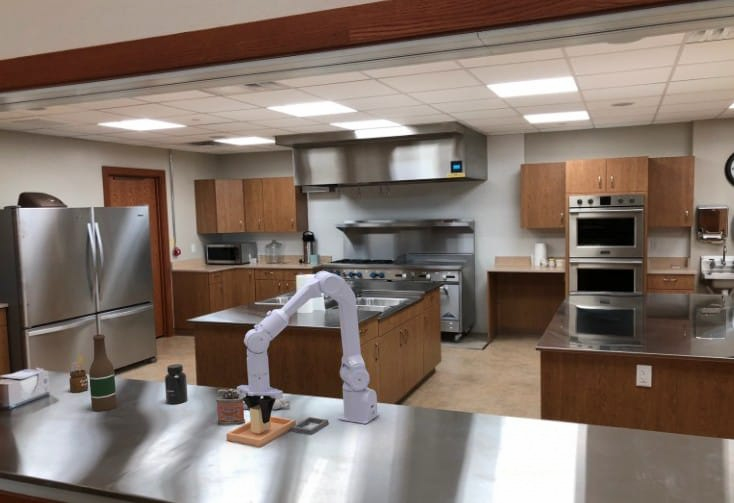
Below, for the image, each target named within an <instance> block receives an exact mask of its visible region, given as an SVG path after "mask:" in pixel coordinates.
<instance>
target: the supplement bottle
mask: <svg viewBox="0 0 734 503" xmlns="http://www.w3.org/2000/svg"><path fill="white" fill-rule="evenodd" d="M183 366H184V365H183V364H181V363H174V364H170V365H168V366H166V367H167V370H166V371H167V374H165V376H164V387H165V401H166V402H165V403H167V404H168V405H178V404H179V405H180V404H183V403H186V401H188V384H187V382H188V380H187V374H186V373H185V372H183V371H184V368H183Z"/></svg>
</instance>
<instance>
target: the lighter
mask: <svg viewBox="0 0 734 503" xmlns="http://www.w3.org/2000/svg"><path fill="white" fill-rule="evenodd" d="M217 393H218V394H217V395H218V397H216V399H215V402H216V406H217V407H216V408H217V425H220V426H235V425H236V426H238V425H240V426H241V425H244V424H246V418H245V412H244V410H245V409H243V402H244V401H243V398H244V396H239V395H240V394H237V389H235V390H234V389H233V388H229V389H228V390H227V389H219V390H217Z"/></svg>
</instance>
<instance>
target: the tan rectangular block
mask: <svg viewBox="0 0 734 503" xmlns="http://www.w3.org/2000/svg"><path fill="white" fill-rule="evenodd" d="M271 416H272V415H271ZM271 416H270V421H269V422H267V423H266V424H264V423H263V420H262V412H261V408H260V405H259V404H258V405H256V406H254V407H252V408H250V411H249V418H250V420H249V422H251V432H255V433H261V432H263V431H265V430H267V429H269V428H271Z"/></svg>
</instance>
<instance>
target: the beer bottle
mask: <svg viewBox="0 0 734 503" xmlns="http://www.w3.org/2000/svg"><path fill="white" fill-rule="evenodd" d="M105 339H106V336H105V334H102V333H99V334H95V335H93V336H92V340H93V361H92V362H91V365H90V369H89V372H88V373H89V376H88V377H89V378H88V380H89V390H90V398H91V402H90V403H91V409H92V411H93V412H105V411H106V412H107V411H110V410H113V409H115V408H116V407H117V391H116V388H117V387H116V378H115V369H114V365H113V364H112V362H111V361H110V359H109V358H108V355H107V349H106V343H105Z"/></svg>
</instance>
